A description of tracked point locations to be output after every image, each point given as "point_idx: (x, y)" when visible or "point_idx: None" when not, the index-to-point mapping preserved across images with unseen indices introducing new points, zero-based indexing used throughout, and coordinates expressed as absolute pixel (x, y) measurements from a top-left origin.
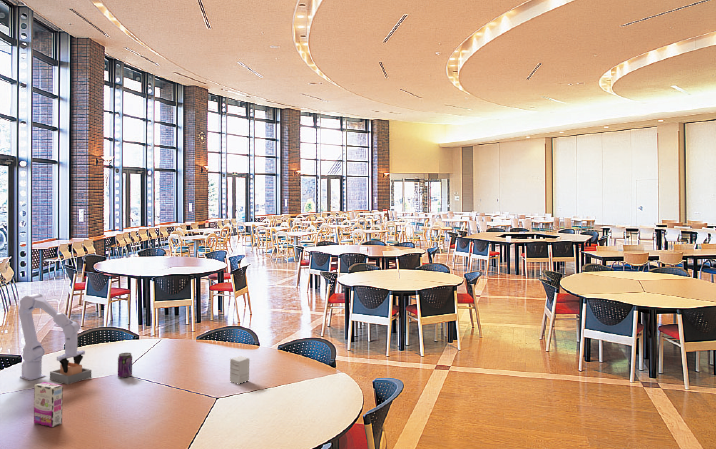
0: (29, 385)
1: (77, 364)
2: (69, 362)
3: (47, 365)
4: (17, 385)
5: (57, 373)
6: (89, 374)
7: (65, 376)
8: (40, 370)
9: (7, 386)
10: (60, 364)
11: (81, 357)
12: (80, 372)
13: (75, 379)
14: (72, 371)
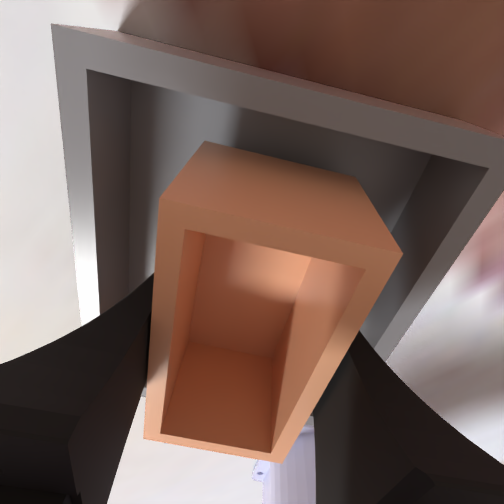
0: (485, 390)
1: (176, 304)
2: (160, 435)
3: (116, 490)
4: (482, 436)
5: (381, 357)
6: (128, 38)
7: (478, 213)
8: (310, 482)
9: (501, 460)
10: (281, 462)
11: (8, 402)
12: (221, 156)
13: (371, 98)
14: (375, 211)
